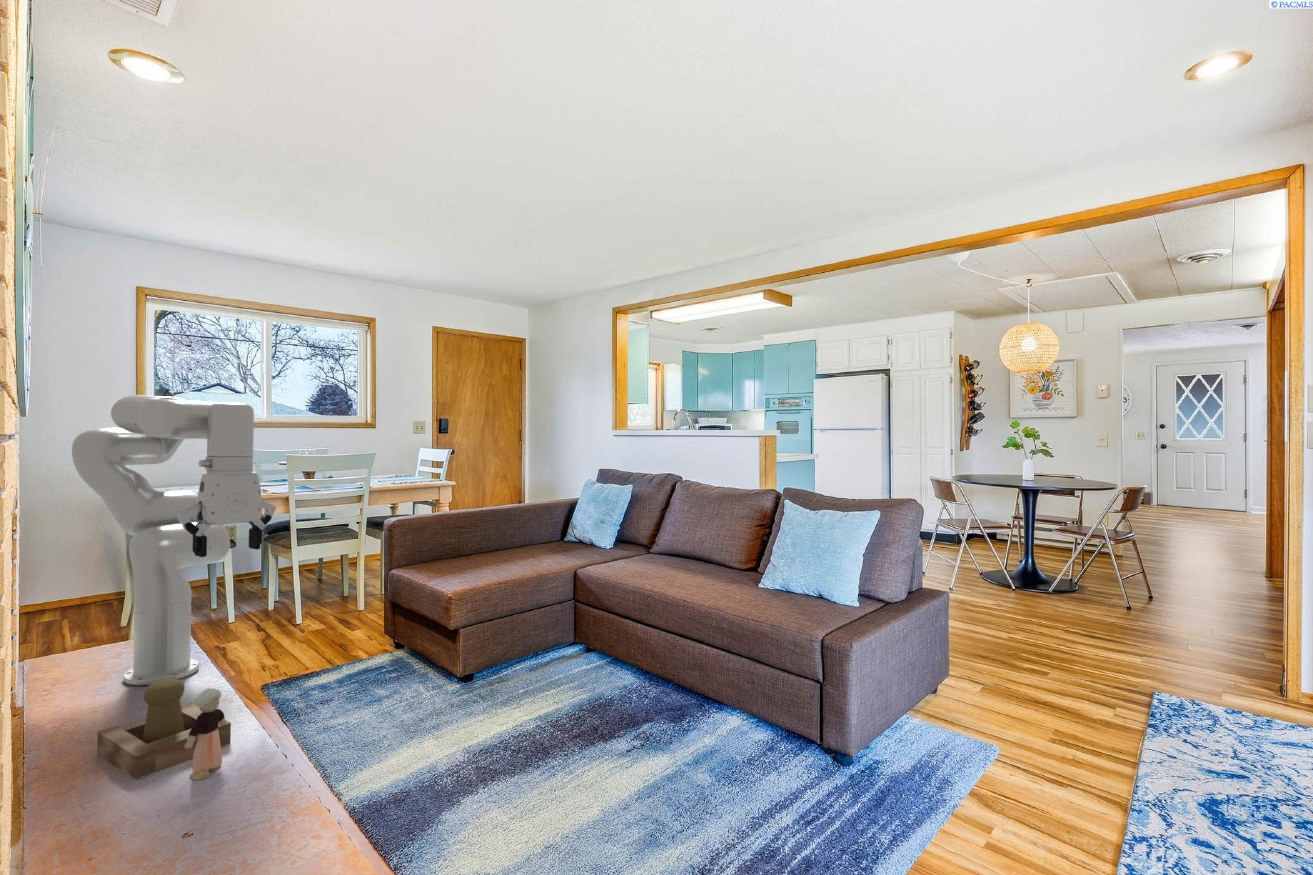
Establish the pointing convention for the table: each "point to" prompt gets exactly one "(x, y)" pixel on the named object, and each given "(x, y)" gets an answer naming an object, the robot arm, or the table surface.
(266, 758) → the table surface
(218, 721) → the grandmother figurine
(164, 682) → the cork
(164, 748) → the socket block
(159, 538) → the robot arm
